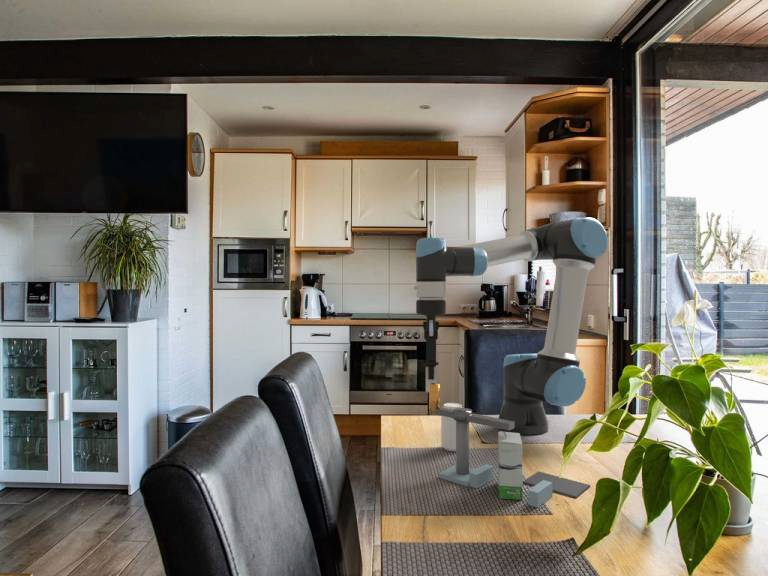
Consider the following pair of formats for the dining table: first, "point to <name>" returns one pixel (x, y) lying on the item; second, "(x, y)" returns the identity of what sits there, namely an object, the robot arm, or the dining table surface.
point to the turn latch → (463, 412)
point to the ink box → (509, 465)
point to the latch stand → (484, 470)
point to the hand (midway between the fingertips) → (431, 391)
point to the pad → (559, 484)
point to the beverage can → (449, 429)
